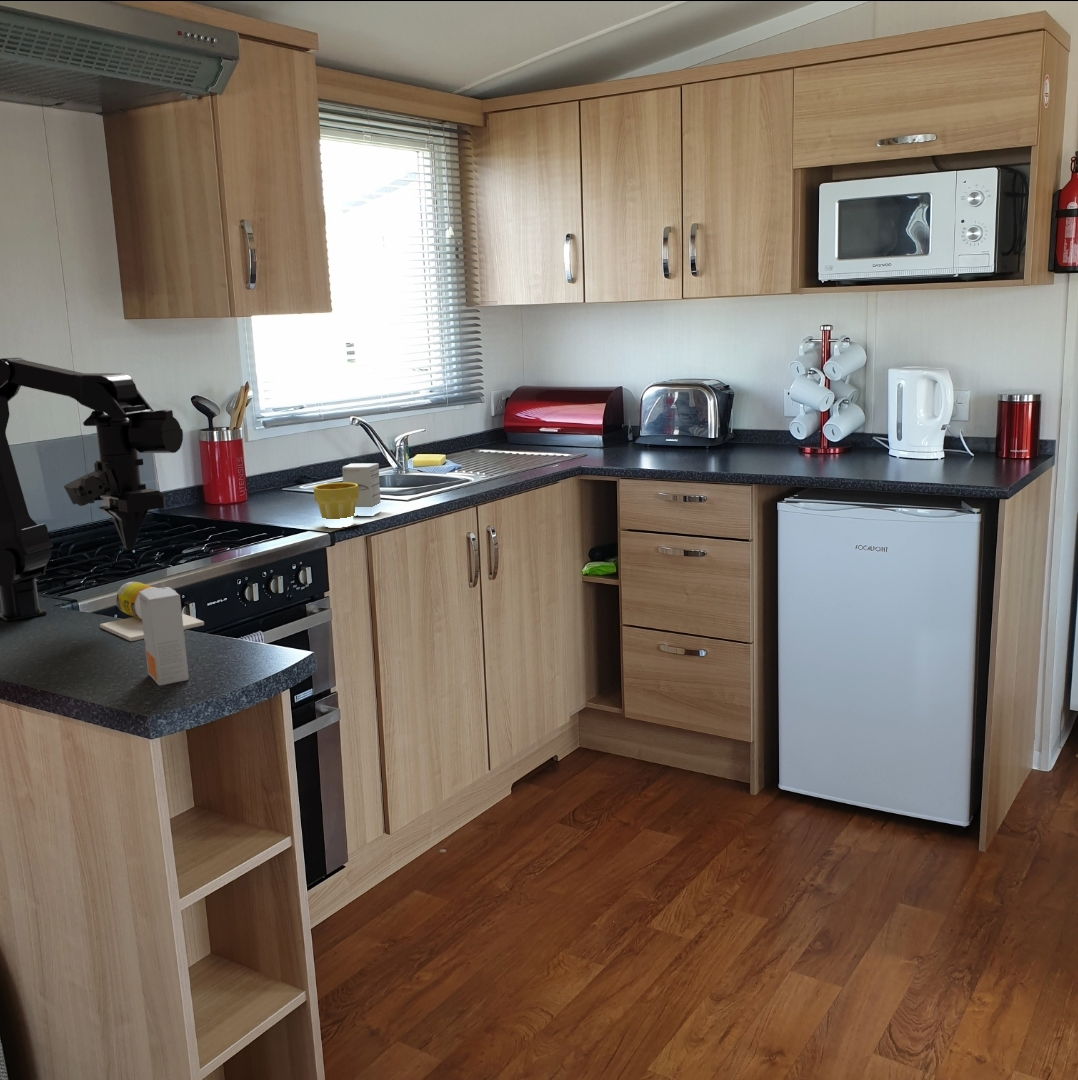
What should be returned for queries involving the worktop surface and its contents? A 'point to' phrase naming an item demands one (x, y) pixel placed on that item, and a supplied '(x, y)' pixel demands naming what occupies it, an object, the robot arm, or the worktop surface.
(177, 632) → the skincare box
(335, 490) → the plant pot
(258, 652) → the worktop surface
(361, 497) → the supplement box
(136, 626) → the mat
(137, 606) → the supplement bottle
